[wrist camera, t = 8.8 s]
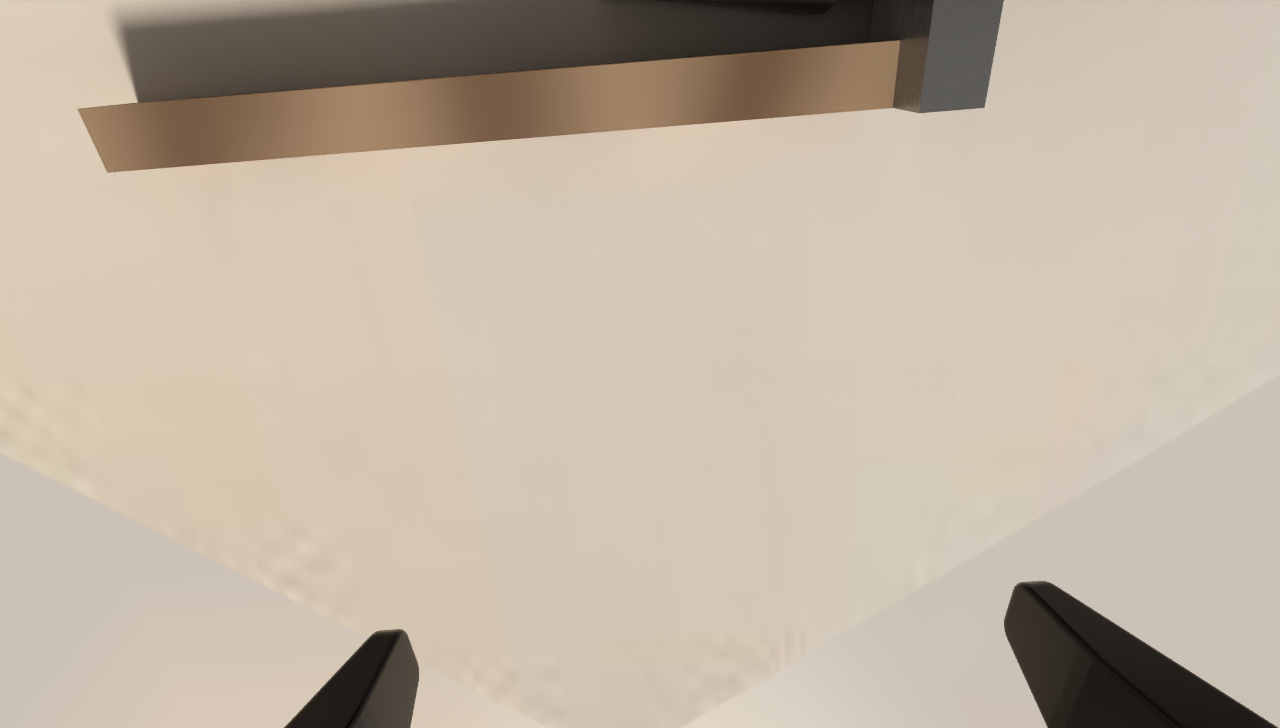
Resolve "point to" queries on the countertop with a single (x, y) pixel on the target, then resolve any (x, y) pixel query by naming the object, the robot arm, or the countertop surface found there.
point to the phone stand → (775, 4)
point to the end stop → (939, 50)
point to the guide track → (495, 106)
